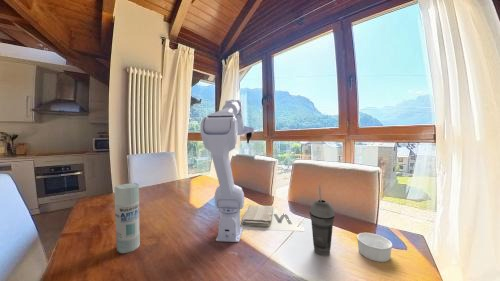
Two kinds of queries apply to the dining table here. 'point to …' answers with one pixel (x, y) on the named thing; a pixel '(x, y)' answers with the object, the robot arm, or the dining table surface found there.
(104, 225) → the dining table surface
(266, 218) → the washcloth
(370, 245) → the ramekin
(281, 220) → the placemat
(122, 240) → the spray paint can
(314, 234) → the beverage cup
